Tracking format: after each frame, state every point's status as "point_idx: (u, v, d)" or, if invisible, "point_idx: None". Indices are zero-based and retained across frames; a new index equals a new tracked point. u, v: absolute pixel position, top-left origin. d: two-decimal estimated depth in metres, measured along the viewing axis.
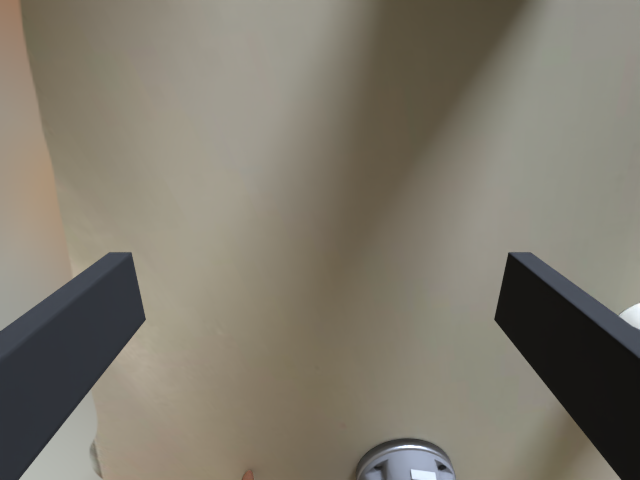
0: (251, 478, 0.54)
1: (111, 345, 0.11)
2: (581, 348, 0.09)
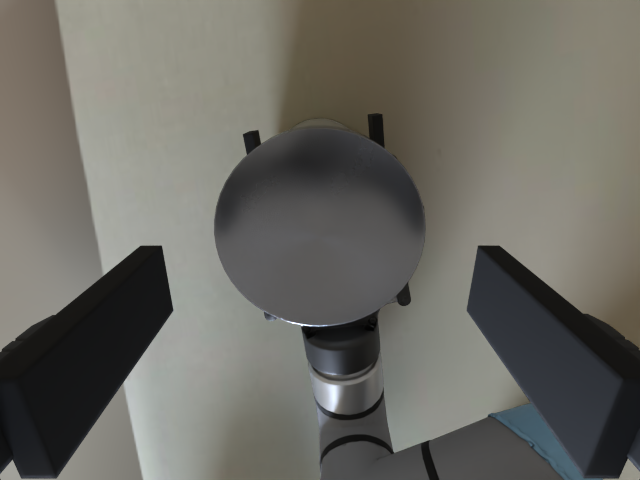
0: None
1: (145, 333, 0.11)
2: (535, 333, 0.09)
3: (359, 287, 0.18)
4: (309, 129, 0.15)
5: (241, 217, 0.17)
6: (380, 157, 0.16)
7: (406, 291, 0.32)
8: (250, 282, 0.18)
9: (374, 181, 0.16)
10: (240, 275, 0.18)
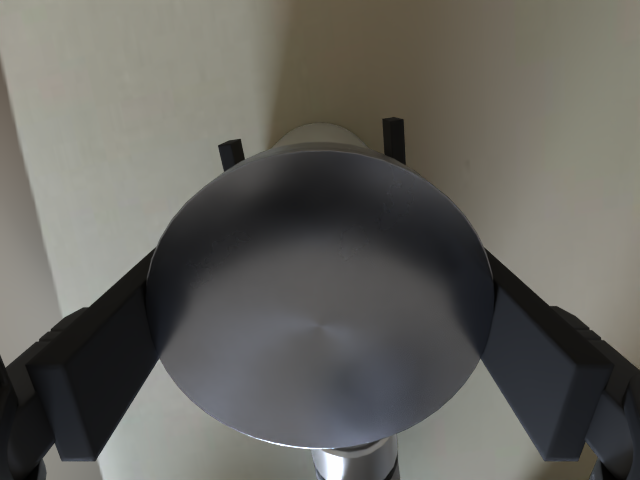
0: None
1: None
2: (505, 324, 0.10)
3: (382, 396, 0.11)
4: (301, 152, 0.09)
5: (189, 295, 0.10)
6: (425, 200, 0.09)
7: None
8: (209, 390, 0.11)
9: (413, 239, 0.09)
10: (193, 380, 0.11)
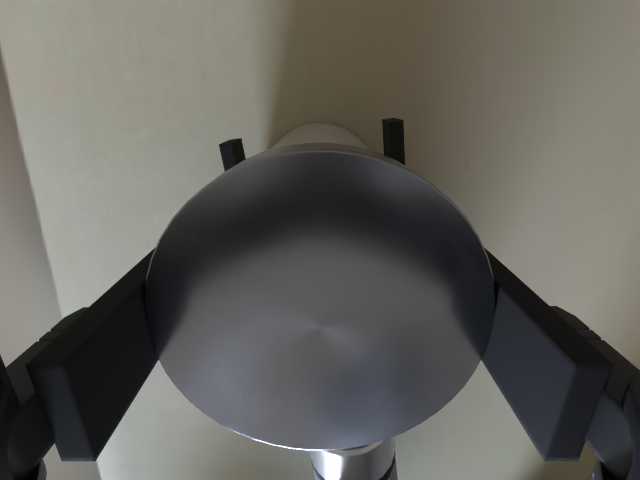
0: None
1: None
2: (505, 324, 0.10)
3: (427, 278, 0.10)
4: (146, 320, 0.10)
5: (272, 417, 0.12)
6: (189, 223, 0.09)
7: None
8: (376, 424, 0.12)
9: (230, 236, 0.09)
10: (362, 433, 0.12)
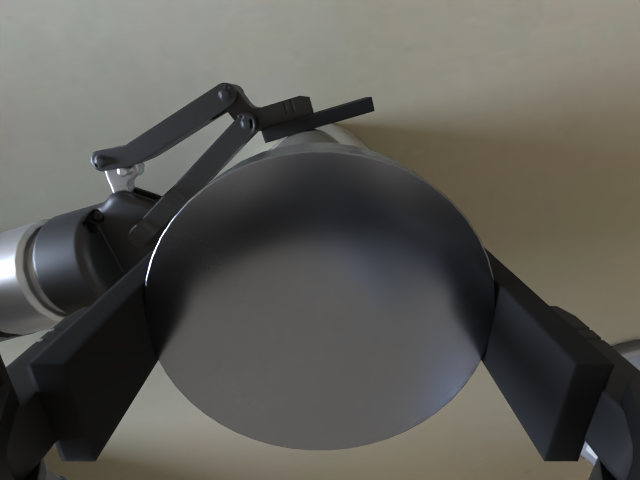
0: None
1: None
2: (505, 324, 0.10)
3: (427, 278, 0.10)
4: (146, 319, 0.10)
5: (272, 416, 0.12)
6: (189, 223, 0.09)
7: None
8: (376, 424, 0.12)
9: (230, 236, 0.09)
10: (361, 433, 0.12)
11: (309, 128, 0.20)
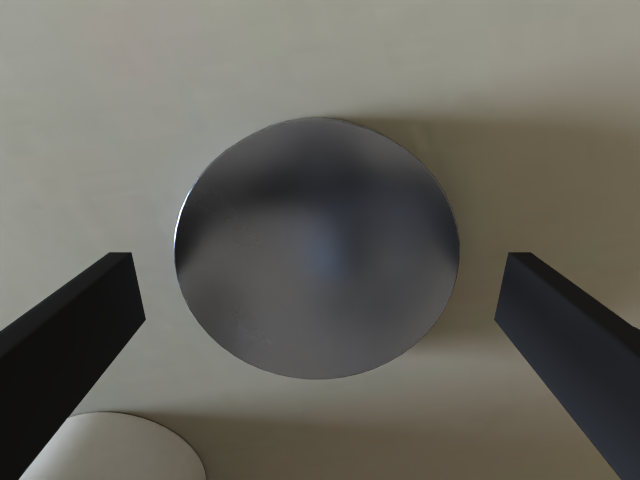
0: None
1: (111, 345, 0.11)
2: (581, 348, 0.09)
3: (403, 227, 0.12)
4: (175, 263, 0.13)
5: (277, 349, 0.14)
6: (211, 181, 0.11)
7: None
8: (365, 355, 0.14)
9: (244, 192, 0.12)
10: (352, 363, 0.14)
11: None
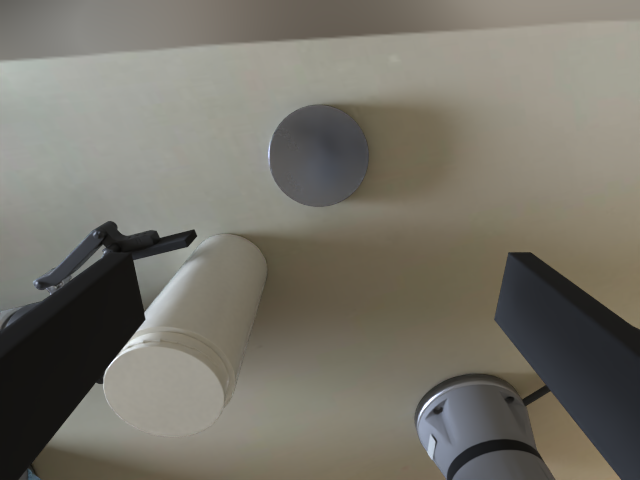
0: None
1: (111, 345, 0.11)
2: (581, 348, 0.09)
3: (348, 142, 0.35)
4: None
5: (303, 192, 0.37)
6: (283, 125, 0.35)
7: None
8: (336, 195, 0.37)
9: (294, 129, 0.35)
10: (332, 199, 0.37)
11: (150, 255, 0.34)
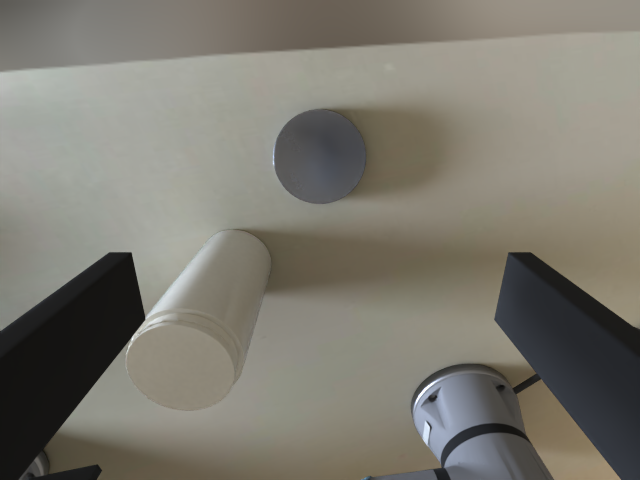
0: None
1: (111, 345, 0.11)
2: (581, 348, 0.09)
3: (347, 143, 0.38)
4: (273, 156, 0.39)
5: (305, 190, 0.40)
6: (287, 128, 0.38)
7: None
8: (336, 193, 0.40)
9: (297, 131, 0.38)
10: (332, 196, 0.40)
11: None
